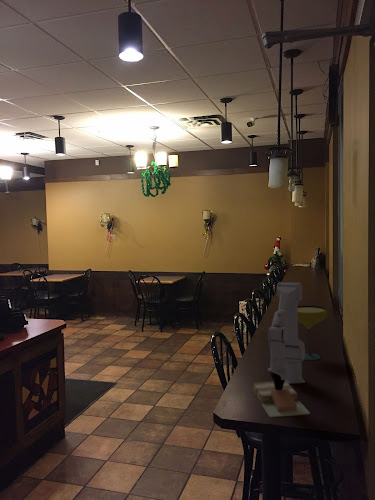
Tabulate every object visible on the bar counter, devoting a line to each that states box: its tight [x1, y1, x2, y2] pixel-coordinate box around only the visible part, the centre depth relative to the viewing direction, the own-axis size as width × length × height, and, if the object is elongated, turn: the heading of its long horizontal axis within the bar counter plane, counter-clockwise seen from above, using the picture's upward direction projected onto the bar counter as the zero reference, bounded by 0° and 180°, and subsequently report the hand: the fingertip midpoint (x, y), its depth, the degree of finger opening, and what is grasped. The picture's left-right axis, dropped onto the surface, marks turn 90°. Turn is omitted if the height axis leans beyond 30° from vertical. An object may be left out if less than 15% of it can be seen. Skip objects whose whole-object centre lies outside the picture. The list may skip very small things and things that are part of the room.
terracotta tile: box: [271, 389, 297, 411], centre depth 157 cm, size 9×7×2 cm
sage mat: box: [260, 400, 311, 419], centre depth 155 cm, size 11×15×1 cm
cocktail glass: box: [298, 305, 328, 361], centre depth 213 cm, size 18×18×25 cm
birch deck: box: [252, 381, 298, 404], centre depth 168 cm, size 14×14×3 cm
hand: (278, 391), depth 162 cm, fingers closed
